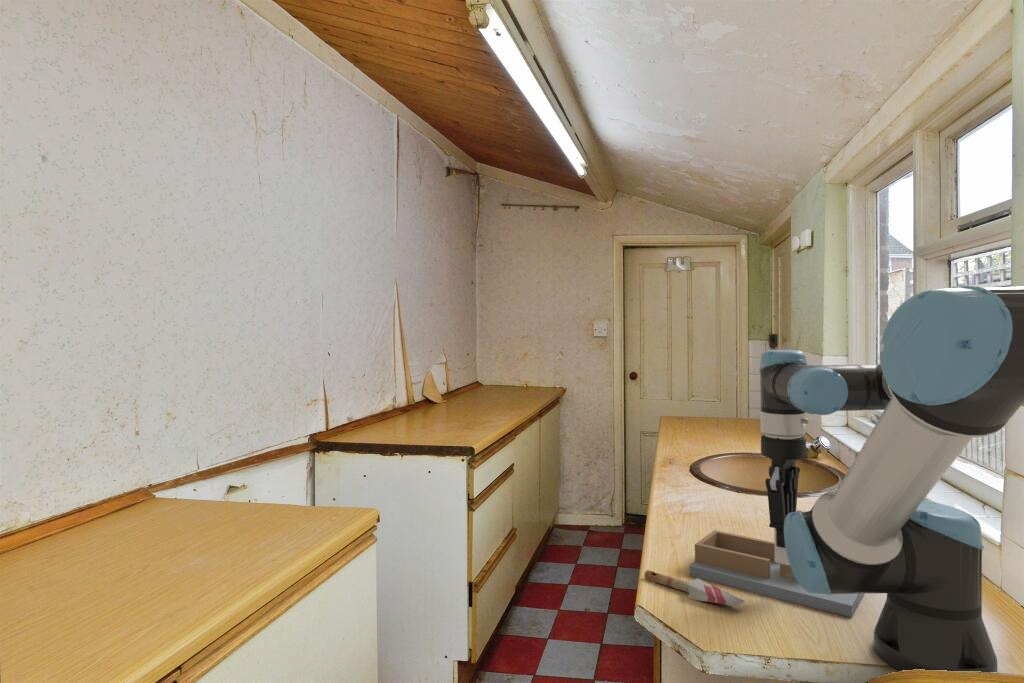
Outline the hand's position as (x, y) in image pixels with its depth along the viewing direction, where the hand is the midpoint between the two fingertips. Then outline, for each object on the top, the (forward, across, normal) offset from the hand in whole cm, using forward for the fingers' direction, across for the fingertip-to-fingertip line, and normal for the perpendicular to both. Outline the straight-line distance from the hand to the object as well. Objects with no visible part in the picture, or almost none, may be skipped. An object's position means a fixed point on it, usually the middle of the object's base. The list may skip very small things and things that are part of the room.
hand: (783, 562), depth 111 cm
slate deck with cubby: (+7, +9, +4) cm, 12 cm away
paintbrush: (+7, -9, +14) cm, 18 cm away
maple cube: (+5, +7, 0) cm, 9 cm away
